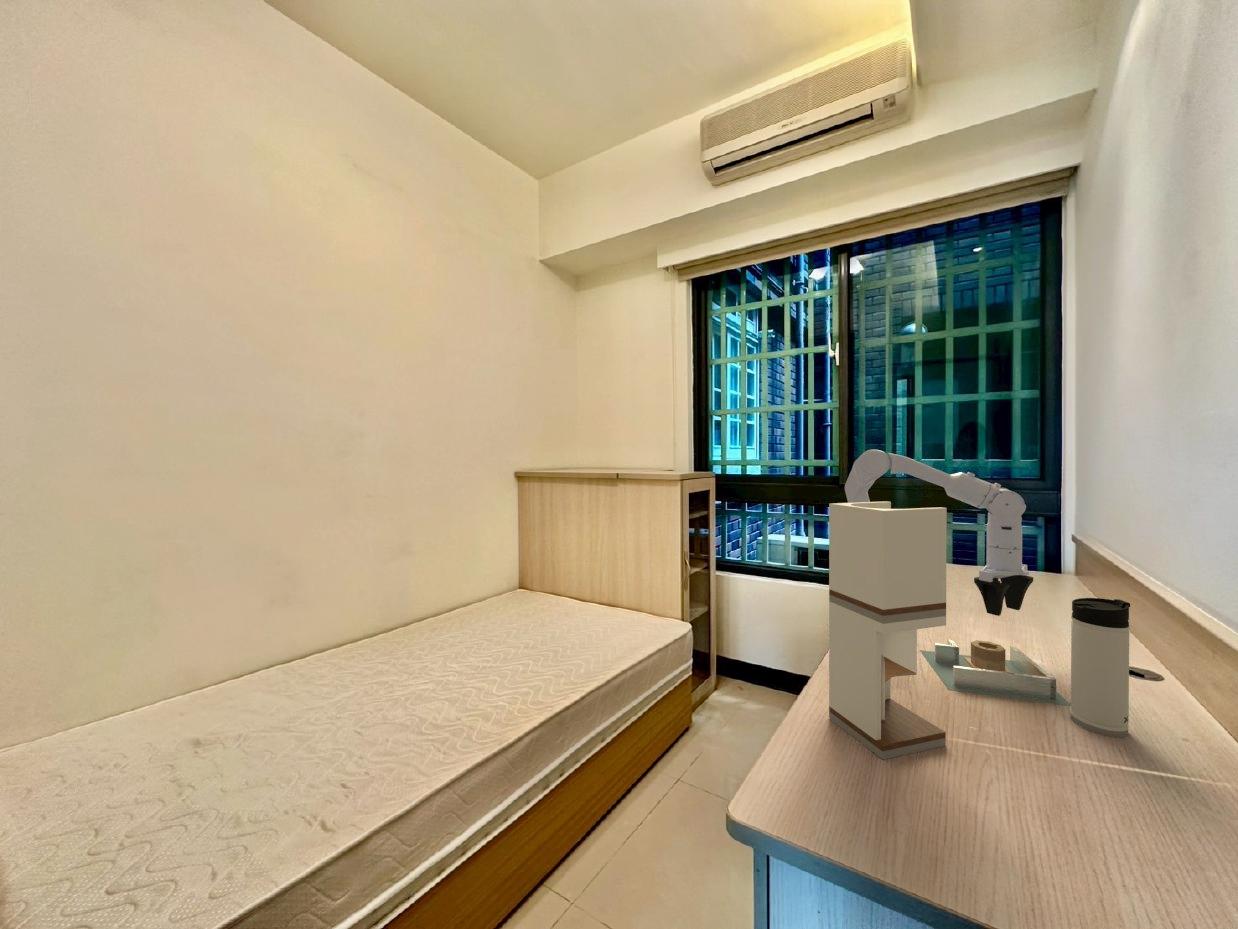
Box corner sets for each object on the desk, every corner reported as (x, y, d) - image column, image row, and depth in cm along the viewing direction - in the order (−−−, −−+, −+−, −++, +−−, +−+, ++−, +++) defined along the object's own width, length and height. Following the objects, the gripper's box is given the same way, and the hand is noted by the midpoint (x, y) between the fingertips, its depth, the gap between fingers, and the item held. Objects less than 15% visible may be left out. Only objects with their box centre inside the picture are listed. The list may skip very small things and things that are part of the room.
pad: (975, 671, 90) (975, 669, 90) (964, 658, 96) (964, 657, 96) (1013, 676, 88) (1013, 674, 88) (999, 662, 94) (999, 661, 94)
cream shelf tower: (882, 759, 65) (883, 510, 64) (829, 718, 75) (829, 503, 74) (945, 745, 68) (946, 507, 67) (885, 708, 78) (886, 501, 77)
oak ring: (977, 669, 91) (977, 648, 91) (968, 658, 95) (968, 639, 95) (1008, 672, 89) (1009, 652, 89) (997, 662, 94) (997, 642, 94)
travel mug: (1143, 741, 68) (1145, 607, 68) (1090, 736, 70) (1092, 605, 69) (1108, 718, 74) (1109, 595, 74) (1060, 714, 76) (1061, 593, 76)
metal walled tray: (954, 686, 84) (954, 667, 84) (929, 653, 98) (929, 637, 98) (1056, 700, 80) (1056, 679, 80) (1014, 663, 94) (1014, 646, 94)
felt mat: (948, 691, 83) (948, 689, 83) (919, 651, 100) (919, 650, 100) (1074, 708, 77) (1074, 706, 77) (1021, 663, 94) (1021, 661, 94)
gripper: (1008, 553, 90) (1007, 623, 90) (1045, 547, 96) (1045, 611, 96) (967, 547, 96) (967, 612, 96) (1005, 541, 102) (1004, 602, 102)
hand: (1003, 611), depth 97 cm, fingers open, 7 cm apart
